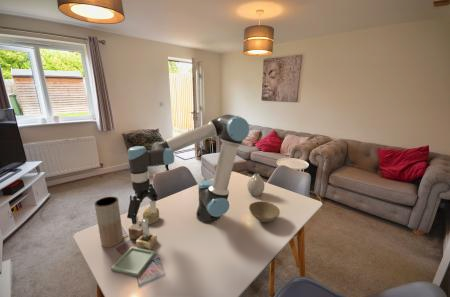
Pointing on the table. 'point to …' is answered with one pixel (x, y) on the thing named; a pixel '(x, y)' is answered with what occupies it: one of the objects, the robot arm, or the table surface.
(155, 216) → the decorative item
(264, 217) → the bowl
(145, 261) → the tray
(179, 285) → the table surface
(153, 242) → the block
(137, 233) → the block
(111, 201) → the planter
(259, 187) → the vase
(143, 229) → the cylinder
